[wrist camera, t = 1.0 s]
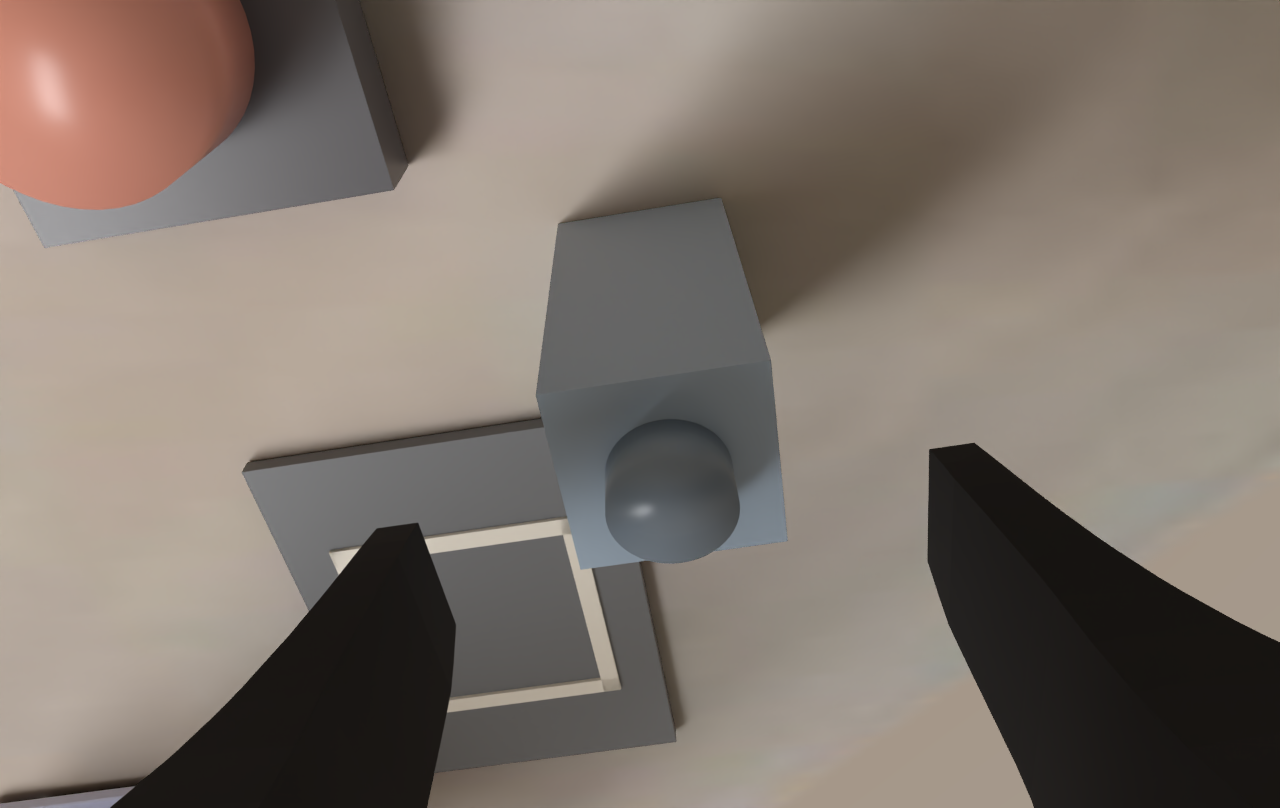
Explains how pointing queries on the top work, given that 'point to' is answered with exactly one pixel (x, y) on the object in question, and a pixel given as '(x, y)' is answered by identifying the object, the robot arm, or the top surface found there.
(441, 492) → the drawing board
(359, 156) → the button base
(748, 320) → the grey rectangular block
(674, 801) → the top surface
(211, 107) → the button
